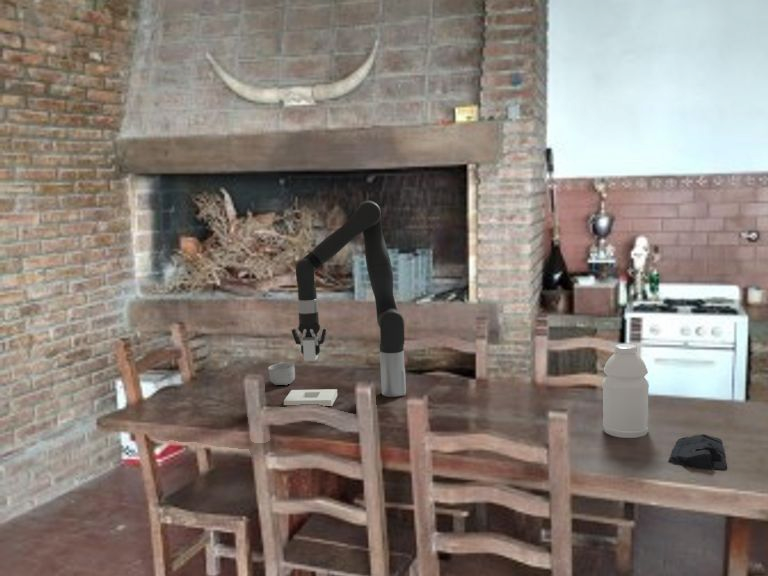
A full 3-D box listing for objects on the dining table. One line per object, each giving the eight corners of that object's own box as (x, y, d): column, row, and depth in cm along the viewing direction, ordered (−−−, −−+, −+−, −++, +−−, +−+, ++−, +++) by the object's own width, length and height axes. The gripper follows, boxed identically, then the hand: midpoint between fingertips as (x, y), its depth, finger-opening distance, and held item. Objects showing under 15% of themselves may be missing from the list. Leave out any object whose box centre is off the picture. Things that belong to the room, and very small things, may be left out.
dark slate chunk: (730, 446, 225) (730, 431, 224) (725, 474, 206) (726, 457, 205) (675, 440, 232) (675, 425, 231) (666, 466, 213) (666, 450, 212)
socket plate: (337, 395, 293) (337, 389, 293) (331, 406, 280) (331, 400, 279) (292, 396, 295) (291, 389, 295) (284, 407, 281) (283, 400, 281)
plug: (318, 357, 292) (316, 334, 290) (315, 360, 286) (313, 337, 285) (307, 357, 292) (305, 334, 291) (304, 360, 287) (302, 337, 285)
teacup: (293, 387, 308) (292, 368, 306) (267, 388, 308) (265, 369, 307) (298, 378, 321) (297, 359, 320) (272, 379, 322) (271, 360, 321)
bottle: (594, 432, 240) (594, 347, 236) (615, 421, 250) (615, 338, 246) (635, 442, 230) (636, 353, 226) (656, 430, 240) (657, 344, 236)
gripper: (328, 308, 289) (330, 352, 292) (292, 309, 291) (295, 352, 293) (324, 312, 282) (327, 356, 284) (287, 313, 283) (290, 357, 286)
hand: (310, 354), depth 289 cm, fingers closed on plug, 4 cm apart
